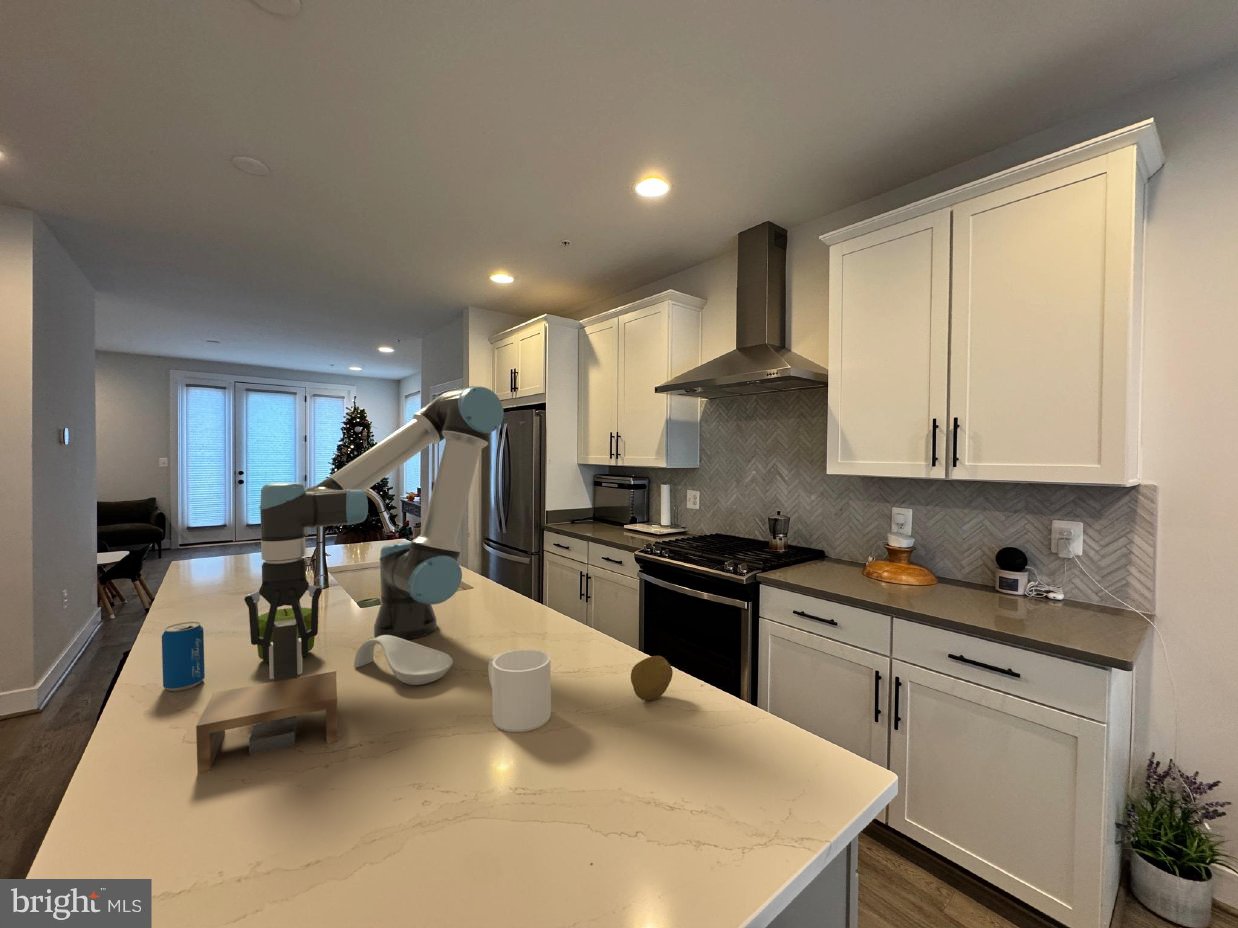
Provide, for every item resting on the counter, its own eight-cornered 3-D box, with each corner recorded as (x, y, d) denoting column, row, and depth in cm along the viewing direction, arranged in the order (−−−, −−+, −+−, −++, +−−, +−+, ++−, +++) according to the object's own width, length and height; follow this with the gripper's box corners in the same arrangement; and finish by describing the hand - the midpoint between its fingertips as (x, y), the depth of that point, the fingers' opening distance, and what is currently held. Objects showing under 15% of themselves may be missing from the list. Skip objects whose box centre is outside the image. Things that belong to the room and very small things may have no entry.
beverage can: (181, 693, 103) (179, 632, 103) (154, 691, 104) (152, 630, 104) (212, 679, 109) (211, 621, 109) (187, 677, 110) (185, 619, 110)
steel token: (297, 729, 90) (296, 715, 90) (294, 747, 85) (294, 731, 85) (254, 738, 87) (254, 723, 87) (249, 757, 82) (248, 741, 82)
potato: (626, 705, 97) (626, 662, 97) (639, 687, 105) (639, 647, 104) (663, 711, 95) (663, 667, 95) (673, 693, 102) (673, 652, 102)
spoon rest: (464, 673, 112) (464, 640, 112) (422, 697, 101) (421, 660, 101) (383, 656, 122) (382, 625, 122) (337, 675, 111) (336, 642, 111)
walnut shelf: (337, 708, 96) (336, 670, 96) (337, 740, 86) (336, 697, 86) (214, 734, 88) (212, 692, 88) (197, 773, 77) (196, 725, 77)
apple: (257, 673, 112) (256, 620, 112) (249, 656, 121) (248, 607, 121) (323, 658, 120) (323, 608, 120) (311, 643, 130) (310, 597, 129)
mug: (562, 713, 95) (562, 656, 94) (523, 739, 86) (522, 676, 86) (511, 695, 101) (510, 642, 101) (470, 718, 93) (469, 660, 93)
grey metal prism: (301, 675, 111) (300, 618, 111) (295, 717, 93) (293, 650, 93) (273, 680, 109) (271, 622, 108) (261, 724, 91) (259, 655, 91)
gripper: (332, 552, 115) (334, 659, 115) (235, 560, 107) (238, 675, 107) (331, 558, 108) (334, 672, 109) (228, 567, 100) (231, 690, 101)
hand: (286, 673), depth 108 cm, fingers closed on grey metal prism, 4 cm apart
